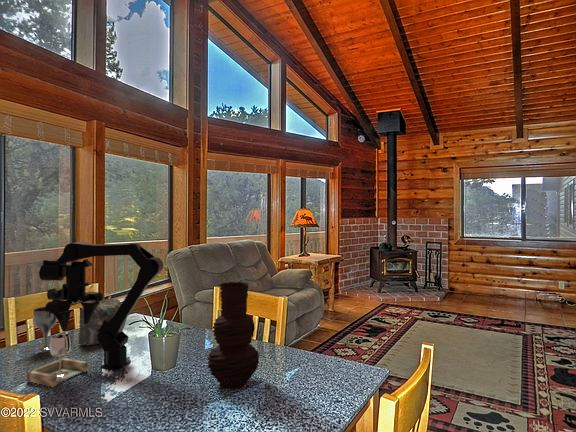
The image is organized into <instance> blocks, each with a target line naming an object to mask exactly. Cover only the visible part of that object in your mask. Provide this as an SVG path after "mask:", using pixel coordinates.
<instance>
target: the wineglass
mask: <svg viewBox="0 0 576 432" xmlns="http://www.w3.org/2000/svg"><path fill="white" fill-rule="evenodd" d="M49 346H50V351H49V353H50V355H51V356H53V357H57V358H58V359H57V360H58V361H59V372H57V373H54V374H53V375H57V378H59V377H63V376H66V375H68V372H62V371H61V362H62V357H64V356H66V355H68V354H69V353H70V352H71V348H72V340H71V336H70V334H68V333H58V334H54V335H52V336H51V339H50V342H49Z"/></svg>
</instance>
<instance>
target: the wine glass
mask: <svg viewBox="0 0 576 432" xmlns="http://www.w3.org/2000/svg"><path fill="white" fill-rule="evenodd" d="M32 315H33V321H34V324H35V326H36V327H37V328H38V329H39V330H40V331H41V332H42V334H43V339H44V345H43V346H40V348H39V347H37V348H38V349H37V348H36V349H37V350H40V351H46V350H50V345H48V335H49V333H50V330H52V329H53V327H55V325H56V324H57V322H58V319H57V318H56V316H55V315H54V314H52V313H49V312H46V311H45V306H42V307H37V308H34V309H33V314H32Z"/></svg>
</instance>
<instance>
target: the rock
mask: <svg viewBox="0 0 576 432" xmlns="http://www.w3.org/2000/svg"><path fill="white" fill-rule="evenodd" d="M99 302H100V304H98V306H97V307H96V309H95V311H94V313H93V315H92V317H91V319H90V321H89V323H88V324H85V323H84V308H83V307H82V308H81V309H80V312H79V333H78V340H77V343H78V344H79V345H81V346H93V345H95V346H96V345H98V344H100V343H99V341H98V339H97V334H98V332H99V331H97V330H99V329H100V327H101V326H102V323H103V321H104V320H105V319H107V318H108V317H110V316H112V317H113V316H114V315H115V313H116V312H117V310H118V309H119V307H120V306H121V304H122V302H121V301H120V300H119V299H118V298H109V299H104V298H103V300H102V301H99Z"/></svg>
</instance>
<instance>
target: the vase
mask: <svg viewBox="0 0 576 432" xmlns="http://www.w3.org/2000/svg"><path fill="white" fill-rule="evenodd" d="M218 286H219V289H220V291H219V295H220V302H221V303H220V309H221V311H220V313H221V315H218V318H216V319H214V321H215V322H214V323H213V326H212V329H213V330H212V333H213V334H212V336H213V337H214V340H215V343H216V344H218V345H216V346H215V347H214V348H211V349H210V352H209V353H208V357H207V360H208V361H207V364H208V365H207V367H208V368H209V371H210V372H211V373H210V374H211V375H212V376H213V377H214V379H216V382H217V383H219V386H220V387H221V388H222V389H224V390H231V391H234V390H238V389H242V388H244V387H245V386H246V385H247V384H248V381H249V380H250V379H251V378H252V376H253V375H254V374H255V372H256V371H257V369H258V366H259V363H260V359H259V357H260V355H259V354H260V353H259V351H258V350H257V349H256V348H255V346H253V345H252V344H250V343H251V342H252V339H253V338H254V332H255V327H256V326H255V323H254V319H253V318H252V317H251V316H250V315H248V314H247V311H248V308H247V307H248V296H249V294H248V290H249V282H242V281H229V282H221V283H220V284H218Z"/></svg>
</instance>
